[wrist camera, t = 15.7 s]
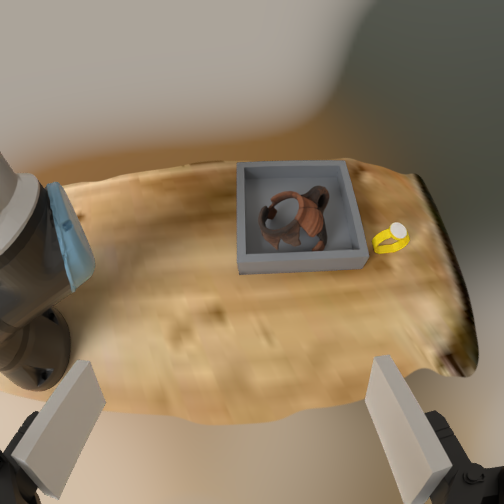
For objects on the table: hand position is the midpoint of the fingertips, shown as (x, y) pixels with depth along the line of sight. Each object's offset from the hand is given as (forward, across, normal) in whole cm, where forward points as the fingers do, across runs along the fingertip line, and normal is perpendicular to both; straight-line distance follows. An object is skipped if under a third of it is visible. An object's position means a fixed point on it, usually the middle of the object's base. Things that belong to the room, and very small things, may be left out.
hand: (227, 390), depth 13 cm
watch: (+35, +22, -5) cm, 41 cm away
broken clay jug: (+36, +8, -2) cm, 37 cm away
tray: (+39, +8, 0) cm, 40 cm away
